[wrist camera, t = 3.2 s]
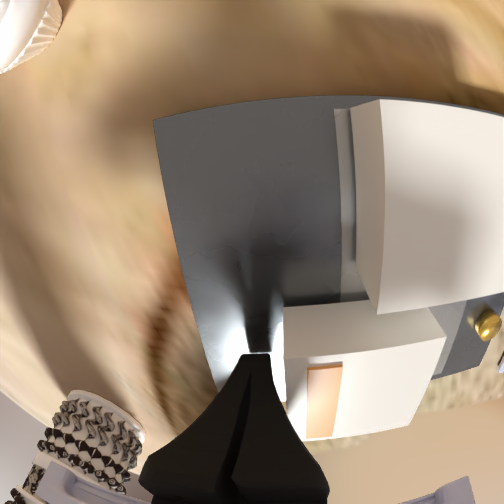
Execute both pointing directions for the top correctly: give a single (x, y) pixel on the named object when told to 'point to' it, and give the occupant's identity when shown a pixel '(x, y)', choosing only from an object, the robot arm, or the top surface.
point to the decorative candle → (86, 445)
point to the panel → (280, 226)
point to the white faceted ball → (26, 29)
